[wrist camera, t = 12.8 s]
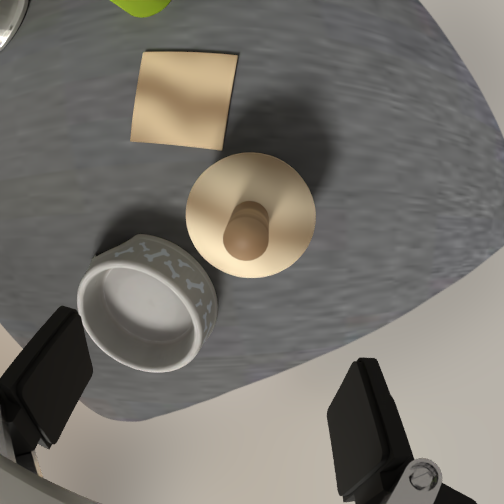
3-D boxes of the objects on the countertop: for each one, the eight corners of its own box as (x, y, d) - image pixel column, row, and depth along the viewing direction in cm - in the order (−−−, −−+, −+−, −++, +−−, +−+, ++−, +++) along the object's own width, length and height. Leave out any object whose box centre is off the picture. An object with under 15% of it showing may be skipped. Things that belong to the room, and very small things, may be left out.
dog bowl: (240, 333, 38) (236, 362, 33) (132, 360, 42) (119, 384, 37) (178, 213, 32) (162, 229, 27) (69, 266, 36) (47, 284, 31)
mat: (144, 52, 25) (143, 52, 25) (238, 56, 25) (237, 55, 25) (131, 141, 29) (130, 141, 28) (222, 150, 29) (221, 150, 29)
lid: (196, 144, 25) (175, 148, 19) (325, 165, 25) (342, 176, 19) (184, 261, 29) (165, 293, 23) (298, 280, 29) (305, 317, 23)
